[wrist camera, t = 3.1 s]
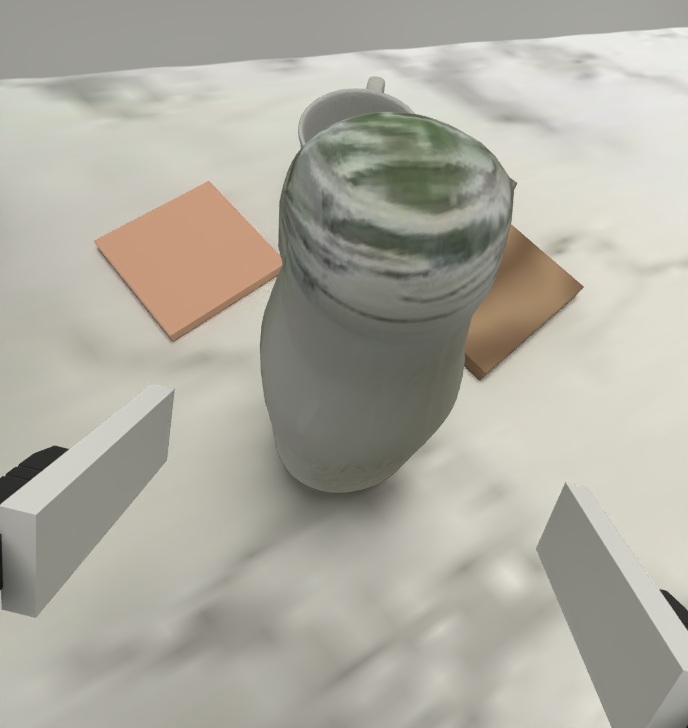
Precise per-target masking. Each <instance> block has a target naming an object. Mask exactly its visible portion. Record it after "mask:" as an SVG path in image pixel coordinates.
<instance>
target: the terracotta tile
mask: <svg viewBox="0 0 688 728" xmlns="http://www.w3.org/2000/svg"><path fill="white" fill-rule="evenodd" d="M94 242H95V244H96V246H97V247H98V249H99V250H100V251H101V253H102V254H103V255H104V256H105V257H106V259H107V260H108V261H109V262H110V264H111V265H112V266H113V267H114V269H115V270H116V271H117V272H118V274H119V275H120V276H121V277H122V279H123V280H124V281H125V282H126V284H127V285H128V286H129V287H130V289H131V290H132V291H133V292H134V294H135V295H136V296H137V297H138V299H139V300H140V301H141V302H142V303H143V305H144V306H145V307H146V308H147V310H148V311H149V312H150V313H151V315H152V316H153V317H154V318H155V320H156V321H157V322H158V323H159V325H160V326H161V327H162V328H163V330H164V331H165V332H166V333H167V335H168V336H169V337H170V338H171V340H172V341H175V340H176V339H178V338H179V337H181V336H183V335H184V334H186V333H187V332H189V331H190V330H192V329H194V328H195V327H197V326H198V325H200V324H201V323H203V322H205V321H206V320H208V319H209V318H211V317H212V316H214V315H216V314H217V313H219V312H220V311H222V310H223V309H225V308H227V307H228V306H230V305H231V304H233V303H235V302H236V301H238V300H239V299H241V298H242V297H244V296H246V295H247V294H249V293H250V292H252V291H253V290H255V289H257V288H258V287H260V286H261V285H263V284H264V283H266V282H268V281H269V280H271V279H272V278H274V277H275V276H277V275H278V273H279V271H280V269H281V267H282V260H281V256H280V255H279V254H278V253H277V252H276V251H275V250H274V249H273V248H272V247H271V246H270V245H269V244H268V243H267V242H266V241H265V240H264V238H263V237H262V236H261V235H260V234H259V233H258V232H257V231H256V230H255V229H254V228H253V227H252V226H251V225H250V224H249V223H248V222H247V221H246V219H245V218H244V217H243V216H242V215H241V214H240V213H239V212H238V211H237V210H236V209H235V208H234V207H233V206H232V205H231V204H230V203H229V202H228V200H227V199H226V198H225V197H224V196H223V195H222V194H221V193H220V192H219V191H218V190H217V189H216V188H215V187H214V186H213V185H212V184H211V183H210V181H208V182H206V183H204V184H202V185H200V186H198V187H196V188H194V189H192V190H191V191H189V192H187V193H185V194H183V195H181V196H179V197H177V198H175V199H173V200H171V201H169V202H168V203H166V204H164V205H162V206H160V207H158V208H156V209H154V210H152V211H150V212H148V213H146V214H145V215H143V216H141V217H139V218H137V219H135V220H133V221H131V222H129V223H127V224H125V225H123V226H122V227H120V228H118V229H116V230H114V231H112V232H110V233H108V234H106V235H104V236H102V237H100V238H98V239H97V240H95V241H94Z"/></svg>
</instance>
